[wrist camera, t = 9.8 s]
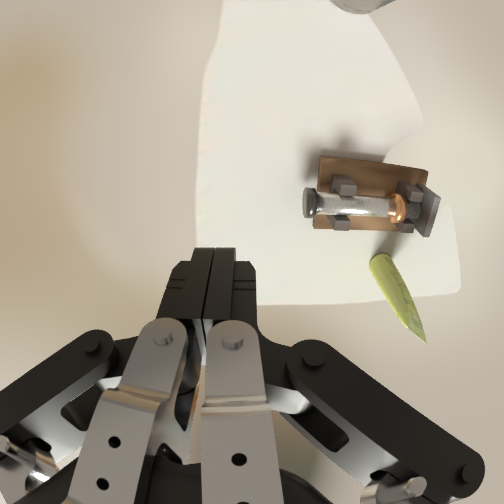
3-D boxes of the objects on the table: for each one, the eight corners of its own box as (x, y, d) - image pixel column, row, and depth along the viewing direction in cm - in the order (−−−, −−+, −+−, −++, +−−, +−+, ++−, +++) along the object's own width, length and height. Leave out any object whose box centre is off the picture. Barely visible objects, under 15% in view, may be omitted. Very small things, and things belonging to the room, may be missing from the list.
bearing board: (320, 156, 39) (333, 169, 33) (424, 169, 39) (447, 184, 33) (312, 225, 45) (322, 248, 39) (410, 228, 46) (428, 249, 40)
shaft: (303, 181, 39) (310, 193, 35) (411, 190, 39) (426, 202, 35) (301, 210, 42) (306, 225, 38) (405, 215, 42) (418, 229, 38)
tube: (363, 274, 52) (399, 351, 35) (367, 253, 49) (409, 330, 32) (387, 271, 51) (427, 344, 35) (392, 251, 49) (439, 323, 32)
